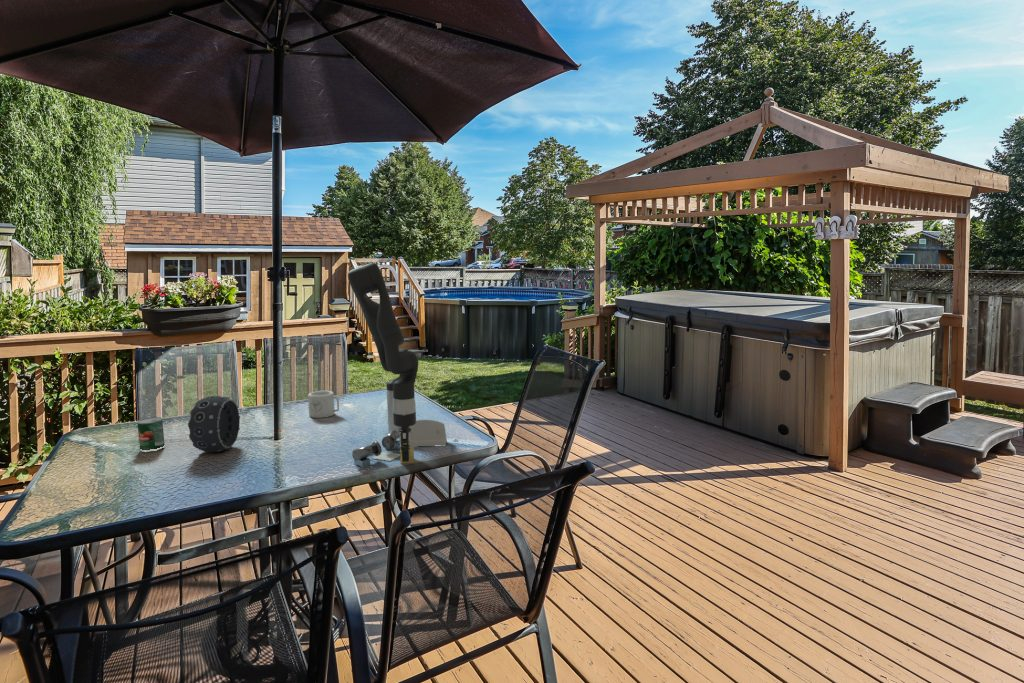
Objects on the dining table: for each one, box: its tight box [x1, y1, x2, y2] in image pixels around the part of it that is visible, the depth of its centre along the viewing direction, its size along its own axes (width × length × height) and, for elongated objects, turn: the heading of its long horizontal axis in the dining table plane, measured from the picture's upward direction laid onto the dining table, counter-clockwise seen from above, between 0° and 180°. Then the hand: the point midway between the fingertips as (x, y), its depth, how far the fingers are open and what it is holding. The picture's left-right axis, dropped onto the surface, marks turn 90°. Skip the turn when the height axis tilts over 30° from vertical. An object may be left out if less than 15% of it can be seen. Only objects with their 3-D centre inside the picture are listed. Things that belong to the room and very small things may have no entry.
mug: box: [307, 390, 340, 419], centre depth 259 cm, size 14×11×10 cm
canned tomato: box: [136, 416, 166, 450], centre depth 216 cm, size 8×8×11 cm
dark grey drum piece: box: [187, 395, 241, 453], centre depth 213 cm, size 11×20×20 cm, turn 2°
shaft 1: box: [351, 441, 383, 468], centre depth 199 cm, size 9×5×6 cm, turn 138°
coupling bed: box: [371, 451, 400, 462], centre depth 206 cm, size 7×8×1 cm
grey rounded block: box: [409, 419, 448, 448], centre depth 219 cm, size 17×5×10 cm, turn 94°
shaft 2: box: [381, 430, 401, 450], centre depth 213 cm, size 9×5×6 cm, turn 179°
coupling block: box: [399, 446, 415, 465], centre depth 201 cm, size 4×4×4 cm
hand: (406, 456), depth 201 cm, fingers open, 8 cm apart
